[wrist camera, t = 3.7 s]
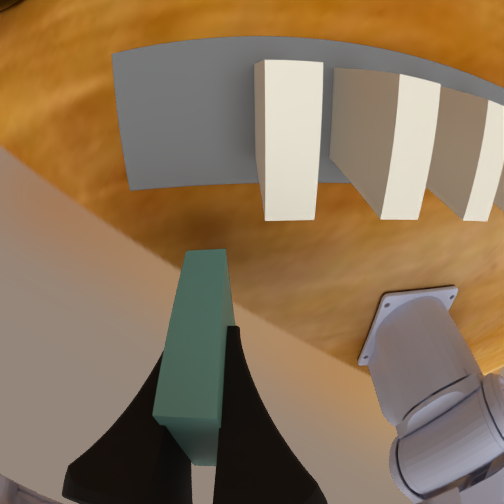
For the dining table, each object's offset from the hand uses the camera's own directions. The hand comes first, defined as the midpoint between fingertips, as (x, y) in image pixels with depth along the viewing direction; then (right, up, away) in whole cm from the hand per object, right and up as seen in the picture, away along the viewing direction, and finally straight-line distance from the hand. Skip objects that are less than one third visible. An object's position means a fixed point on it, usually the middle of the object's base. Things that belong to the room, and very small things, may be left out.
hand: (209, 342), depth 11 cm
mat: (+9, +11, +3) cm, 14 cm away
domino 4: (+11, +11, +3) cm, 15 cm away
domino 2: (+3, +10, +3) cm, 11 cm away
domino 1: (0, +1, +2) cm, 3 cm away
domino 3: (+7, +11, +3) cm, 13 cm away
